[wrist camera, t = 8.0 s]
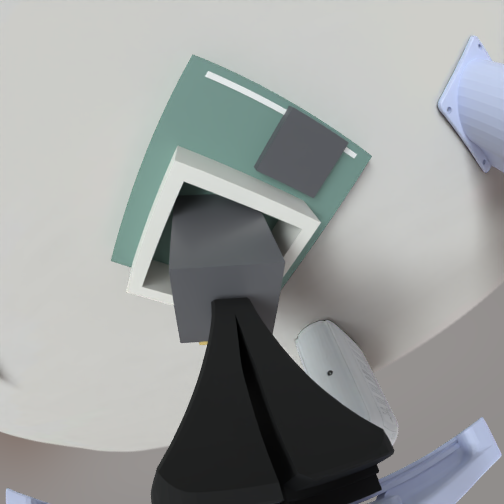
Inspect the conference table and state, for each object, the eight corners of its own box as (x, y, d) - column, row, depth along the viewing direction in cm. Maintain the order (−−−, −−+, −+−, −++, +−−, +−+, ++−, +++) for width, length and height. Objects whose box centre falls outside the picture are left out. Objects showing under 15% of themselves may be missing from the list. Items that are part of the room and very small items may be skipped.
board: (363, 151, 16) (397, 171, 13) (266, 295, 21) (278, 332, 18) (192, 56, 11) (192, 49, 8) (113, 251, 16) (102, 289, 13)
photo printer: (285, 337, 24) (331, 468, 14) (326, 311, 23) (388, 442, 13) (332, 368, 30) (371, 462, 20) (364, 348, 29) (410, 441, 19)
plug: (252, 193, 15) (285, 262, 10) (247, 262, 17) (271, 341, 13) (174, 195, 14) (168, 269, 9) (180, 266, 17) (181, 349, 12)
